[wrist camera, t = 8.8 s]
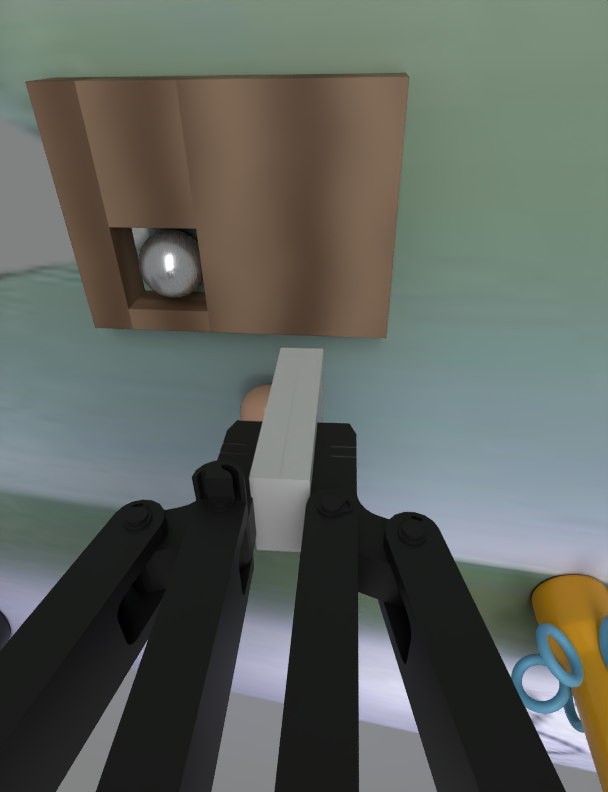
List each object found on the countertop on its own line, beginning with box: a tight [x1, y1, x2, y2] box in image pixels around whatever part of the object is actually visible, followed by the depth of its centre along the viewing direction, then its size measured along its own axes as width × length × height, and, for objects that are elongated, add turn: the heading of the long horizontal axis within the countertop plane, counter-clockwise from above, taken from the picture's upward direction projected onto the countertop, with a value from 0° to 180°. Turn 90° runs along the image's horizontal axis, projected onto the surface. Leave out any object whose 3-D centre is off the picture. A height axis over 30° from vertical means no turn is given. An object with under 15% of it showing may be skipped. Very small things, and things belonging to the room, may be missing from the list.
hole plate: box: [25, 73, 409, 338], centre depth 26 cm, size 16×12×2 cm
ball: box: [240, 384, 272, 421], centre depth 32 cm, size 4×4×4 cm
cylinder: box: [511, 575, 608, 792], centre depth 36 cm, size 12×10×15 cm
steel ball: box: [139, 230, 203, 297], centre depth 27 cm, size 4×4×4 cm
